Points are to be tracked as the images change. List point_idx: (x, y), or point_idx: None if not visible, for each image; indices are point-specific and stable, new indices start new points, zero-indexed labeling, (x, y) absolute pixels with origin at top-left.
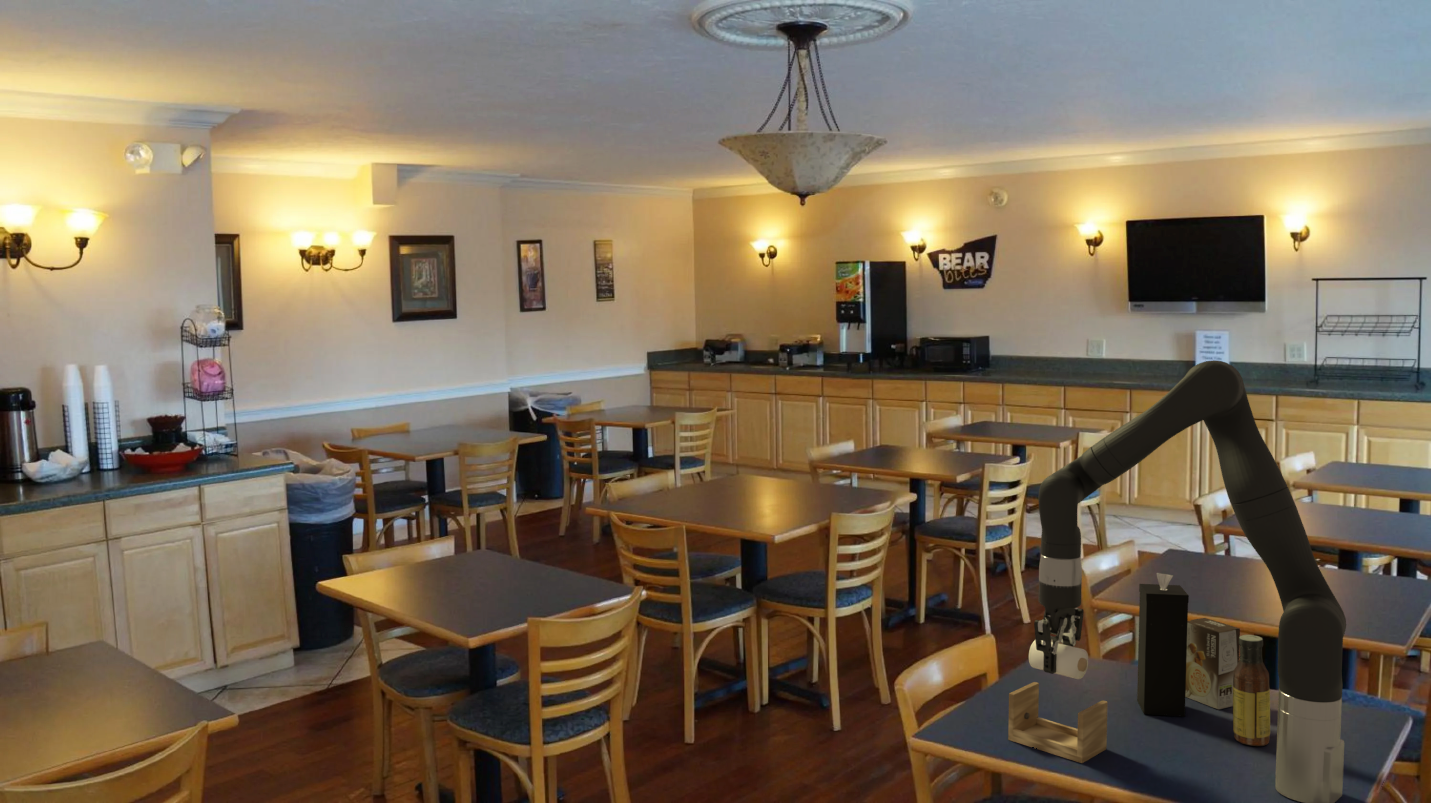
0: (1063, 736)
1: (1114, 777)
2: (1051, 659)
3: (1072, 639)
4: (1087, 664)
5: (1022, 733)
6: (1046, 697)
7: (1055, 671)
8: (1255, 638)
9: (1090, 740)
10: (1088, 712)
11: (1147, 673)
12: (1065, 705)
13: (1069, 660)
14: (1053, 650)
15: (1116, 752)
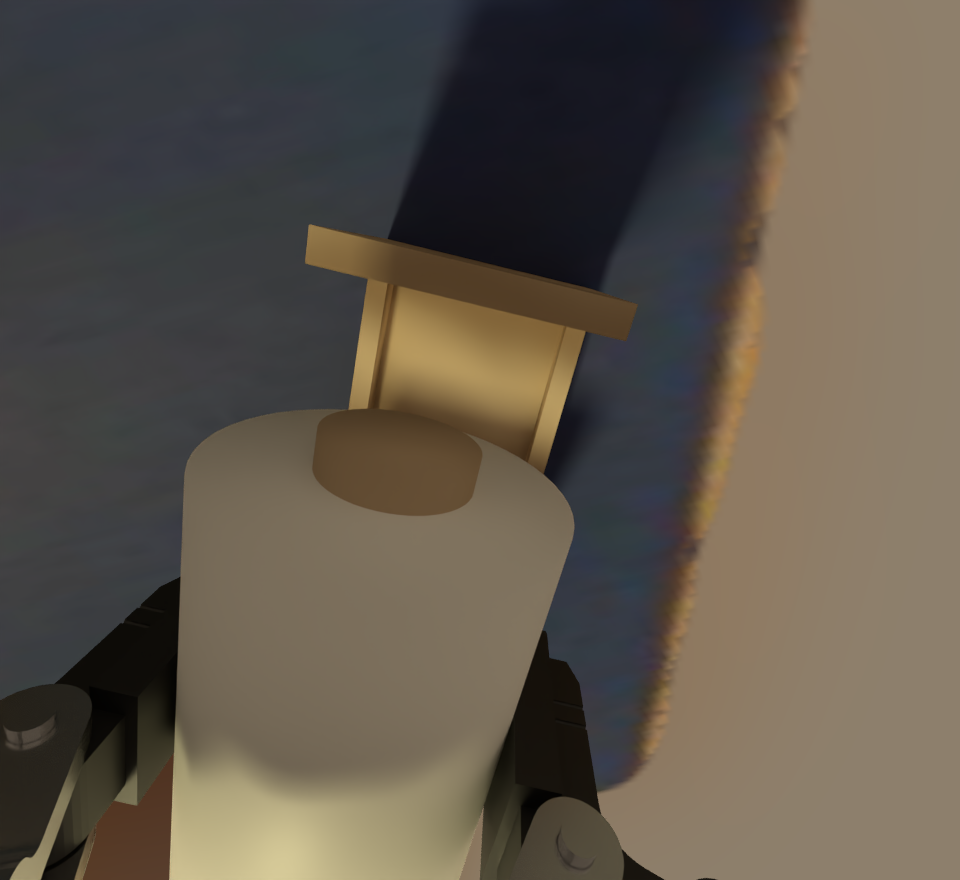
0: None
1: (676, 120)
2: (571, 759)
3: (30, 796)
4: (255, 423)
5: None
6: (44, 569)
7: None
8: None
9: (527, 274)
10: (566, 287)
11: None
12: (64, 495)
13: (547, 604)
14: (619, 872)
15: (398, 189)
